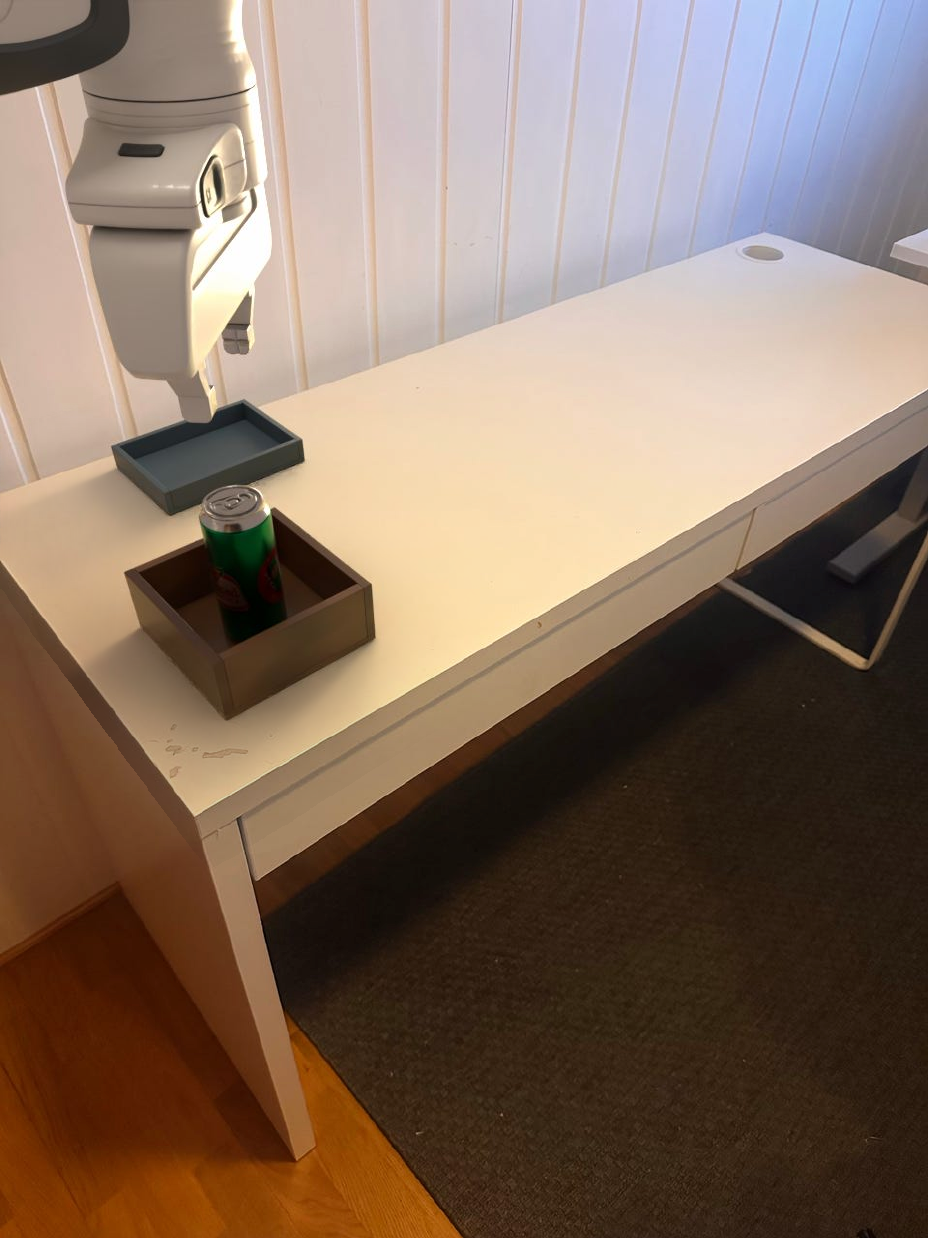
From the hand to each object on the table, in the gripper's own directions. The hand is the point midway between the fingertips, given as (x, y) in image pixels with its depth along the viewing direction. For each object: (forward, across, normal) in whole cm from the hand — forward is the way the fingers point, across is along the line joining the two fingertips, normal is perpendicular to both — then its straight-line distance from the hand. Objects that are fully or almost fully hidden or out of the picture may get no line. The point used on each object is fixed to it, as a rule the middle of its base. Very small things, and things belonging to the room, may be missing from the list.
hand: (222, 381), depth 58 cm
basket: (+22, 0, -1) cm, 22 cm away
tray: (+22, -25, -11) cm, 35 cm away
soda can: (+21, 0, -1) cm, 21 cm away
